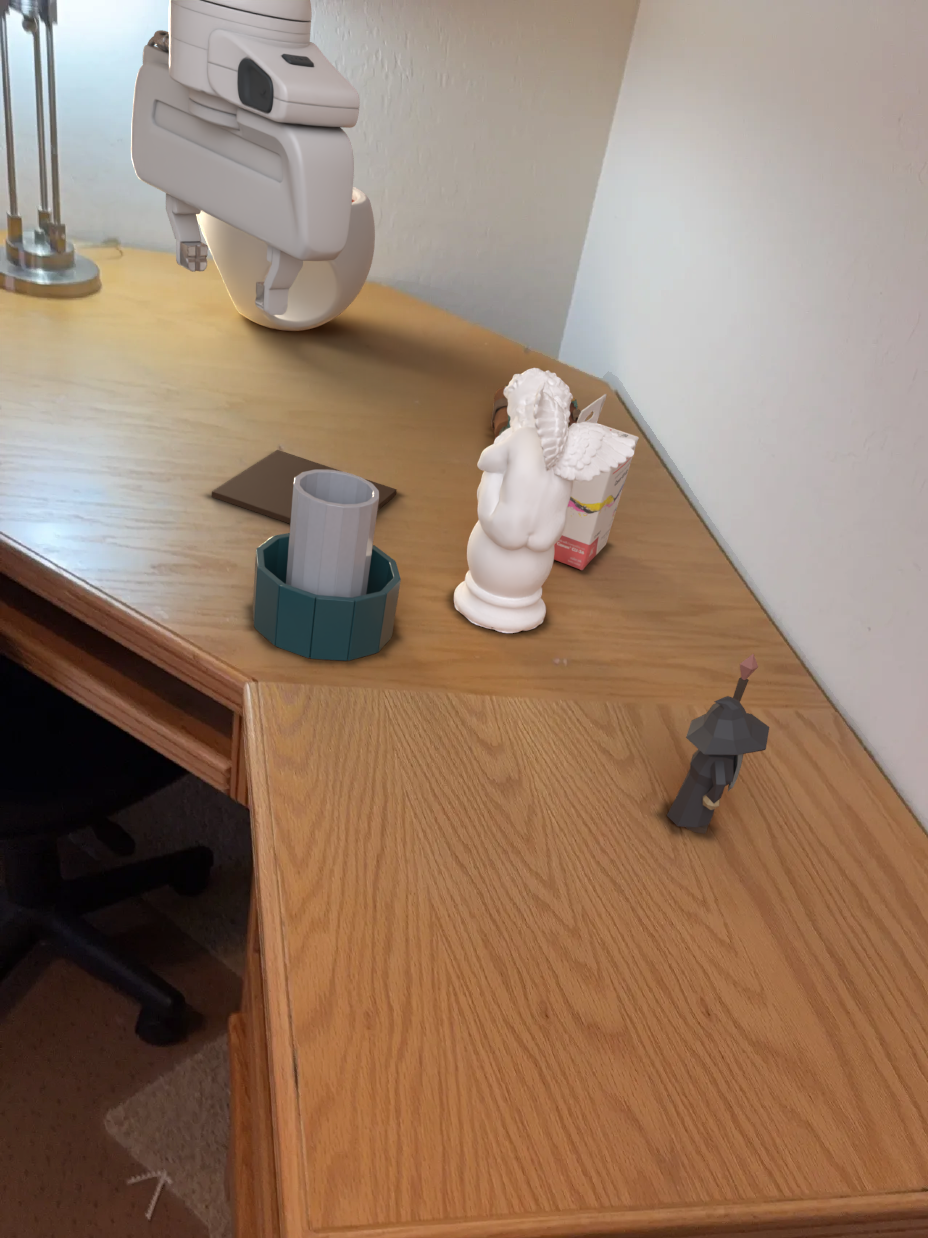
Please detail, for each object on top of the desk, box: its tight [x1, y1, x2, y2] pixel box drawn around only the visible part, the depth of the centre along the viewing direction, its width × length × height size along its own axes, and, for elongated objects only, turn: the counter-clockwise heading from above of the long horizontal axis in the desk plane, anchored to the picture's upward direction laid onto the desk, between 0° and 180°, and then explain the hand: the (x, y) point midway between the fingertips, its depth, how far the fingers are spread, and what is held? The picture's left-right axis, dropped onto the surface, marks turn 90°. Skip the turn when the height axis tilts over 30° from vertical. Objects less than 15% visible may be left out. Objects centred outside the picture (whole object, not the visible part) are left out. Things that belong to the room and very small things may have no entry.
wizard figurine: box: [666, 653, 770, 835], centre depth 76 cm, size 8×6×12 cm
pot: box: [196, 185, 376, 332], centre depth 142 cm, size 24×24×18 cm
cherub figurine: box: [453, 367, 635, 634], centre depth 90 cm, size 12×12×22 cm
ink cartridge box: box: [554, 393, 640, 571], centre depth 106 cm, size 9×5×15 cm, turn 157°
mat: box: [211, 449, 398, 525], centre depth 108 cm, size 14×14×1 cm
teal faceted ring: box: [252, 532, 402, 662], centre depth 88 cm, size 12×12×6 cm
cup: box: [286, 470, 379, 598], centre depth 86 cm, size 7×7×12 cm
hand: (230, 289), depth 78 cm, fingers open, 8 cm apart
